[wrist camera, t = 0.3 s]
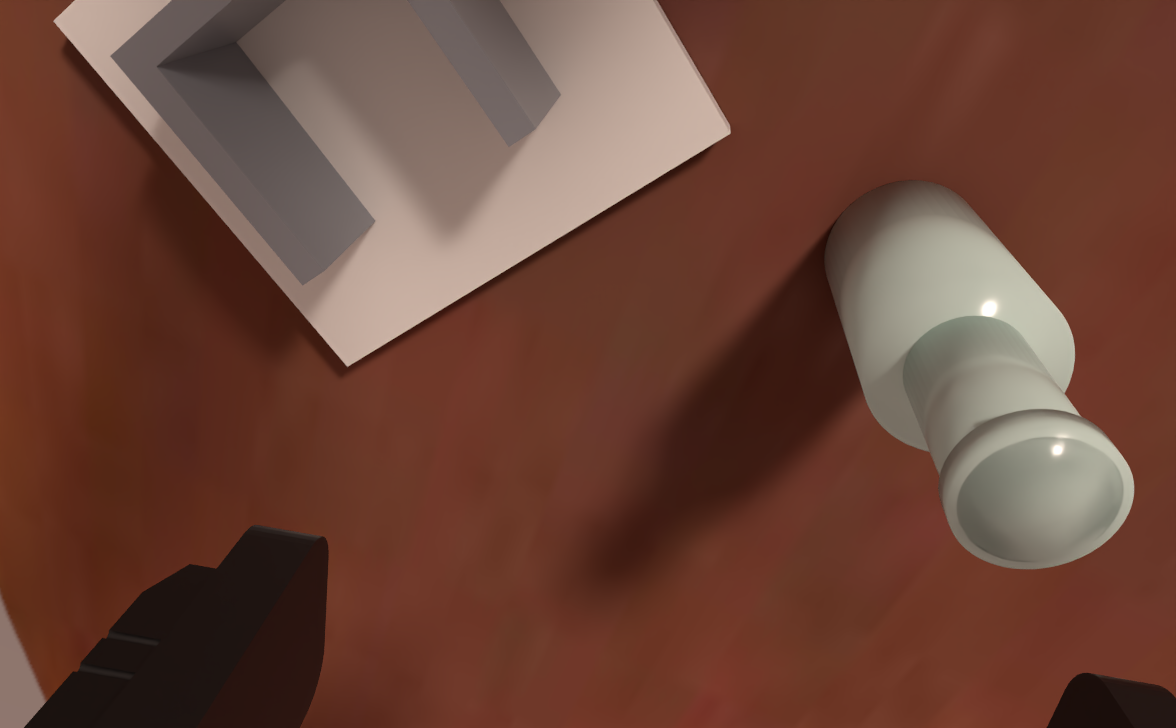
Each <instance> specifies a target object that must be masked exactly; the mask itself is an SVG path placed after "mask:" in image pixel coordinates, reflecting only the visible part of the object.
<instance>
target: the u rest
mask: <svg viewBox="0 0 1176 728" xmlns="http://www.w3.org/2000/svg"><path fill="white" fill-rule="evenodd" d="M54 22H55V24H56V25H57V26H58V27H59V28H60V29H61V31H62V32H63V33H64V34H65V35H66V36H67V38H68V39H69V40H70V41H71V42H72V44H73V45H74V46H75V47H76V48H77V49H78V51H79V52H80V53H81V54H82V55H83V56H84V58H85V59H86V60H87V61H88V62H89V64H90V65H91V66H92V67H93V68H94V69H95V71H96V72H97V73H98V74H99V75H100V76H101V78H102V79H103V80H104V81H105V82H106V84H107V85H108V86H109V87H110V88H111V89H112V91H113V92H114V93H115V94H116V95H117V96H118V98H119V99H120V100H121V101H122V102H123V103H124V105H125V106H126V107H127V108H128V109H129V111H130V112H131V113H132V114H133V115H134V116H135V118H136V119H137V120H138V121H139V122H140V123H141V125H142V126H143V127H144V128H145V129H146V131H147V132H148V133H149V134H150V135H151V136H152V138H153V139H154V140H155V141H156V142H157V143H158V145H159V146H160V147H161V148H162V149H163V151H164V152H165V153H166V154H167V155H168V156H169V158H170V159H171V160H172V161H173V162H174V163H175V165H176V166H177V167H178V168H179V169H180V171H181V172H182V173H183V174H184V175H185V176H186V178H187V179H188V180H189V181H190V182H191V183H192V185H193V186H194V187H195V188H196V189H197V191H198V192H199V193H200V194H201V195H202V196H203V198H204V199H205V200H206V201H207V202H208V203H209V205H210V206H211V207H212V208H213V209H214V210H215V212H216V213H217V214H218V215H219V216H220V218H221V219H222V220H223V221H224V222H225V223H226V225H227V226H228V227H229V228H230V229H231V230H232V232H233V233H234V234H235V235H236V236H237V238H238V239H239V240H240V241H241V242H242V243H243V245H244V246H245V247H246V248H247V249H248V250H249V252H250V253H251V254H252V255H253V256H254V258H255V259H256V260H257V261H258V262H259V263H260V265H261V266H262V267H263V268H264V269H265V270H266V272H267V273H268V274H269V275H270V276H271V278H272V279H273V280H274V281H275V282H276V283H277V285H278V286H279V287H280V288H281V289H282V290H283V292H284V293H285V294H286V295H287V296H288V298H289V299H290V300H291V301H292V302H293V303H294V305H295V306H296V307H297V308H298V309H299V310H300V312H301V313H302V314H303V315H304V316H305V317H306V319H307V320H308V321H309V322H310V323H311V325H312V326H313V327H314V328H315V329H316V330H317V332H318V333H319V334H320V335H321V336H322V337H323V339H324V340H325V341H326V342H327V343H328V345H329V346H330V347H331V348H332V349H333V350H334V352H335V353H336V354H337V355H338V356H339V357H340V359H341V360H342V361H343V362H344V363H345V365H346V366H347V367H348V366H350V365H351V364H353V363H354V362H356V361H358V360H359V359H361V358H363V357H364V356H366V355H368V354H369V353H371V352H373V351H374V350H376V349H377V348H379V347H381V346H382V345H384V344H386V343H387V342H389V341H391V340H392V339H394V338H396V337H397V336H399V335H400V334H402V333H404V332H405V331H407V330H409V329H410V328H412V327H414V326H415V325H417V324H419V323H420V322H422V321H423V320H425V319H427V318H428V317H430V316H432V315H433V314H435V313H437V312H438V311H440V310H441V309H443V308H445V307H446V306H448V305H450V304H451V303H453V302H455V301H456V300H458V299H460V298H461V297H463V296H464V295H466V294H468V293H469V292H471V291H473V290H474V289H476V288H478V287H479V286H481V285H483V284H484V283H486V282H487V281H489V280H491V279H492V278H494V277H496V276H497V275H499V274H501V273H502V272H504V271H506V270H507V269H509V268H510V267H512V266H514V265H515V264H517V263H519V262H520V261H522V260H524V259H525V258H527V257H529V256H530V255H532V254H533V253H535V252H537V251H538V250H540V249H542V248H543V247H545V246H547V245H548V244H550V243H552V242H553V241H555V240H556V239H558V238H560V237H561V236H563V235H565V234H566V233H568V232H570V231H571V230H573V229H574V228H576V227H578V226H579V225H581V224H583V223H584V222H586V221H588V220H589V219H591V218H593V217H594V216H596V215H597V214H599V213H601V212H602V211H604V210H606V209H607V208H609V207H611V206H612V205H614V204H616V203H617V202H619V201H620V200H622V199H624V198H625V197H627V196H629V195H630V194H632V193H634V192H635V191H637V190H639V189H640V188H642V187H643V186H645V185H647V184H648V183H650V182H652V181H653V180H655V179H657V178H658V177H660V176H662V175H663V174H665V173H666V172H668V171H670V170H671V169H673V168H675V167H676V166H678V165H680V164H681V163H683V162H685V161H686V160H688V159H689V158H691V157H693V156H694V155H696V154H698V153H699V152H701V151H703V150H704V149H706V148H707V147H709V146H711V145H712V144H714V143H716V142H717V141H719V140H721V139H722V138H724V137H726V136H727V135H729V134H730V133H731V132H730V125H729V123H728V121H727V120H726V118H725V116H724V114H723V113H722V111H721V109H720V108H719V106H718V104H717V102H716V101H715V99H714V97H713V96H712V94H711V92H710V90H709V89H708V87H707V85H706V84H705V82H704V80H703V78H702V77H701V75H700V73H699V72H698V70H697V68H696V66H695V65H694V63H693V61H692V60H691V58H690V56H689V54H688V53H687V51H686V49H685V47H684V46H683V44H682V42H681V41H680V39H679V37H678V35H677V34H676V32H675V30H674V29H673V27H672V25H671V23H670V22H669V20H668V18H667V17H666V15H665V13H664V11H663V10H662V8H661V6H660V5H659V3H658V1H657V0H75V1H74V2H73V3H72V4H71V5H70V6H69V7H67V8H66V9H65V10H64V11H63V12H62V13H61V14H60V15H59V16H58V17H57V18H56V19H55V20H54Z"/></svg>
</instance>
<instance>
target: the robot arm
mask: <svg viewBox="0 0 1176 728" xmlns="http://www.w3.org/2000/svg"><path fill="white" fill-rule="evenodd" d="M327 577H328V543H327V540H326V538H325V537H322V536H316V535H311V534H305V533H299V532H294V531H288V530H282V529H276V528H271V527H265V526H259V525H254V526H252V527H250V528H249V529H248V530H247V531H246V532H245V533H244V534H243V536H242V537H241V538H240V540H239V541H238V542H237V543H236V545H235V546H234V547H233V549H232V550H231V551H230V552H229V554H228V555H227V556H226V558H225V559H224V560H223V561H222V563H221V564H220V565H219V566H218V568H217V569H215V568H209V567H203V566H198V565H192V564H189V565H188V566H186V567H184V568H183V569H181V570H179V571H178V572H176V573H174V574H173V575H171V576H169V577H168V578H166V579H164V580H162V581H161V582H159V583H157V584H156V585H154V586H152V587H151V588H149V589H147V590H146V591H144V592H142V593H141V595H140V596H139V597H138V598H137V599H136V600H135V601H134V603H133V604H132V605H131V606H130V607H129V608H128V609H127V611H126V612H125V613H124V614H123V615H122V616H121V617H120V619H119V620H118V621H117V622H116V623H115V624H114V625H113V627H112V628H111V629H110V630H109V634H108V637H107V638H106V639H105V638H102V639H101V640H100V641H99V643H98V644H97V645H96V646H95V647H94V648H93V649H92V651H91V652H90V653H89V654H88V655H87V656H86V657H85V659H84V660H83V661H82V662H81V665H80V668H79V670H78V672H74V671H73V672H72V673H71V674H70V676H69V677H68V678H67V679H66V680H65V681H64V682H63V684H62V685H61V686H60V687H59V688H58V689H57V690H56V692H55V693H54V694H53V695H52V696H51V697H50V698H49V700H48V701H47V702H46V703H45V704H44V705H43V707H42V708H41V709H40V710H39V711H38V712H37V713H36V714H35V716H34V717H33V718H32V719H31V720H30V721H29V723H28V724H27V725H26V726H25V727H24V728H300V726H301V724H302V722H303V720H304V718H305V716H306V713H307V711H308V709H309V707H310V704H311V702H312V699H313V696H314V693H315V690H316V687H317V684H318V680H319V676H320V672H321V667H322V662H323V655H324V642H325V621H326V599H327ZM1047 728H1176V698H1175V697H1174V696H1173V694H1172V693H1170V692H1169V691H1168V690H1167V689H1165V688H1163V687H1161V686H1158V685H1154V684H1148V683H1143V682H1137V681H1131V680H1126V679H1120V678H1114V677H1108V676H1103V675H1097V674H1091V673H1082V674H1079V675H1077V676H1076V677H1074V678H1073V679H1072V680H1071V681H1070V683H1069V684H1068V686H1067V687H1066V689H1065V691H1064V693H1063V695H1062V697H1061V699H1060V701H1059V704H1058V706H1057V708H1056V710H1055V712H1054V714H1053V716H1052V718H1051V720H1050V722H1049V724H1048V726H1047Z"/></svg>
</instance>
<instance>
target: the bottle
mask: <svg viewBox="0 0 1176 728" xmlns="http://www.w3.org/2000/svg"><path fill="white" fill-rule="evenodd" d="M824 265H825V272H826V276H827V279H828V283H829V286H830V289H831V292H832V295H833V298H834V301H835V304H836V308H837V311H838V314H839V317H840V320H841V323H842V326H843V330H844V333H845V336H846V339H847V342H848V345H849V348H850V351H851V355H852V358H853V361H854V364H855V367H856V370H857V373H858V377H859V380H860V383H861V386H862V389H863V392H864V395H865V398H866V402H867V404H868V406H869V408H870V410H871V412H872V414H873V415H874V417H875V418H876V420H877V421H878V422H879V423H880V425H881V426H882V427H883V428H884V429H885V430H886V431H888V432H889V433H890V434H891V435H893V436H894V437H895V438H897V439H899V440H900V441H902V442H904V443H906V444H908V445H911V446H913V447H915V448H918V449H922V450H925V451H929V452H930V453H931V456H932V458H933V461H934V463H935V466H936V468H937V471H938V473H939V476H940V477H939V486H938V489H939V498H940V501H941V505H942V507H943V510H944V512H945V515H946V518H947V520H948V523H949V525H950V528H951V530H952V532H953V534H954V536H955V537H956V538H957V540H958V541H959V542H960V543H961V545H962V546H963V547H964V548H965V549H967V550H968V551H969V552H971V553H972V554H973V555H975V556H977V557H978V558H980V559H982V560H984V561H987V562H989V563H992V564H995V565H999V566H1002V567H1008V568H1015V569H1039V568H1048V567H1053V566H1057V565H1061V564H1065V563H1068V562H1071V561H1073V560H1076V559H1078V558H1081V557H1083V556H1085V555H1087V554H1088V553H1090V552H1092V551H1094V550H1095V549H1097V548H1098V547H1100V546H1101V545H1102V544H1104V543H1105V542H1106V541H1107V540H1108V539H1110V538H1111V537H1112V536H1113V535H1114V534H1115V532H1116V531H1117V530H1118V529H1119V528H1120V526H1121V525H1122V524H1123V522H1124V521H1125V519H1126V517H1127V515H1128V513H1129V511H1130V508H1131V505H1132V502H1133V497H1134V482H1133V476H1132V473H1131V471H1130V468H1129V466H1128V464H1127V463H1126V461H1125V459H1124V458H1123V456H1122V455H1121V454H1120V452H1119V451H1118V450H1117V448H1116V447H1115V446H1114V444H1113V443H1112V442H1111V440H1110V439H1109V438H1108V437H1107V435H1106V434H1105V433H1104V432H1103V431H1102V430H1101V429H1100V428H1099V427H1097V426H1096V425H1095V424H1093V423H1092V422H1090V421H1088V420H1087V419H1085V418H1083V417H1081V416H1080V415H1079V413H1078V412H1077V410H1076V409H1075V408H1074V406H1073V405H1072V404H1071V402H1070V401H1069V399H1068V398H1067V397H1066V395H1065V394H1064V393H1065V391H1066V389H1067V387H1068V385H1069V382H1070V379H1071V376H1072V373H1073V368H1074V361H1075V347H1074V341H1073V336H1072V333H1071V330H1070V328H1069V325H1068V323H1067V321H1066V320H1065V318H1064V316H1063V315H1062V313H1061V312H1060V311H1059V310H1058V309H1057V307H1056V306H1055V305H1054V304H1053V303H1052V301H1051V300H1050V299H1049V298H1048V297H1047V296H1046V294H1045V293H1044V292H1043V291H1042V290H1041V289H1040V287H1039V286H1038V285H1037V284H1036V283H1035V282H1034V280H1033V279H1032V278H1031V277H1030V276H1029V275H1028V273H1027V272H1026V271H1025V270H1024V269H1023V268H1022V266H1021V265H1020V264H1019V263H1018V262H1017V261H1016V259H1015V258H1014V257H1013V256H1012V255H1011V254H1010V252H1009V251H1008V250H1007V249H1006V248H1005V247H1004V245H1003V244H1002V243H1001V242H1000V241H999V240H998V238H997V237H996V236H995V235H994V234H993V233H992V231H991V230H990V229H989V228H988V227H987V226H986V224H985V223H984V222H983V221H982V220H981V219H980V217H979V216H978V215H977V214H976V213H975V212H974V210H973V209H972V208H971V207H970V206H969V204H968V203H967V202H966V201H965V200H964V199H963V198H962V197H960V196H959V195H958V194H956V193H955V192H953V191H952V190H950V189H948V188H946V187H944V186H942V185H939V184H935V183H932V182H926V181H917V180H908V181H898V182H894V183H889V184H886V185H883V186H880V187H878V188H875V189H873V190H871V191H869V192H867V193H866V194H864V195H863V196H861V197H859V198H858V199H857V200H856V201H854V202H853V203H852V204H851V205H850V206H849V207H848V208H847V209H846V210H845V211H844V212H843V213H842V214H841V216H840V217H839V218H838V220H837V221H836V223H835V224H834V226H833V228H832V230H831V232H830V235H829V237H828V240H827V244H826V248H825V255H824Z"/></svg>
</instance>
